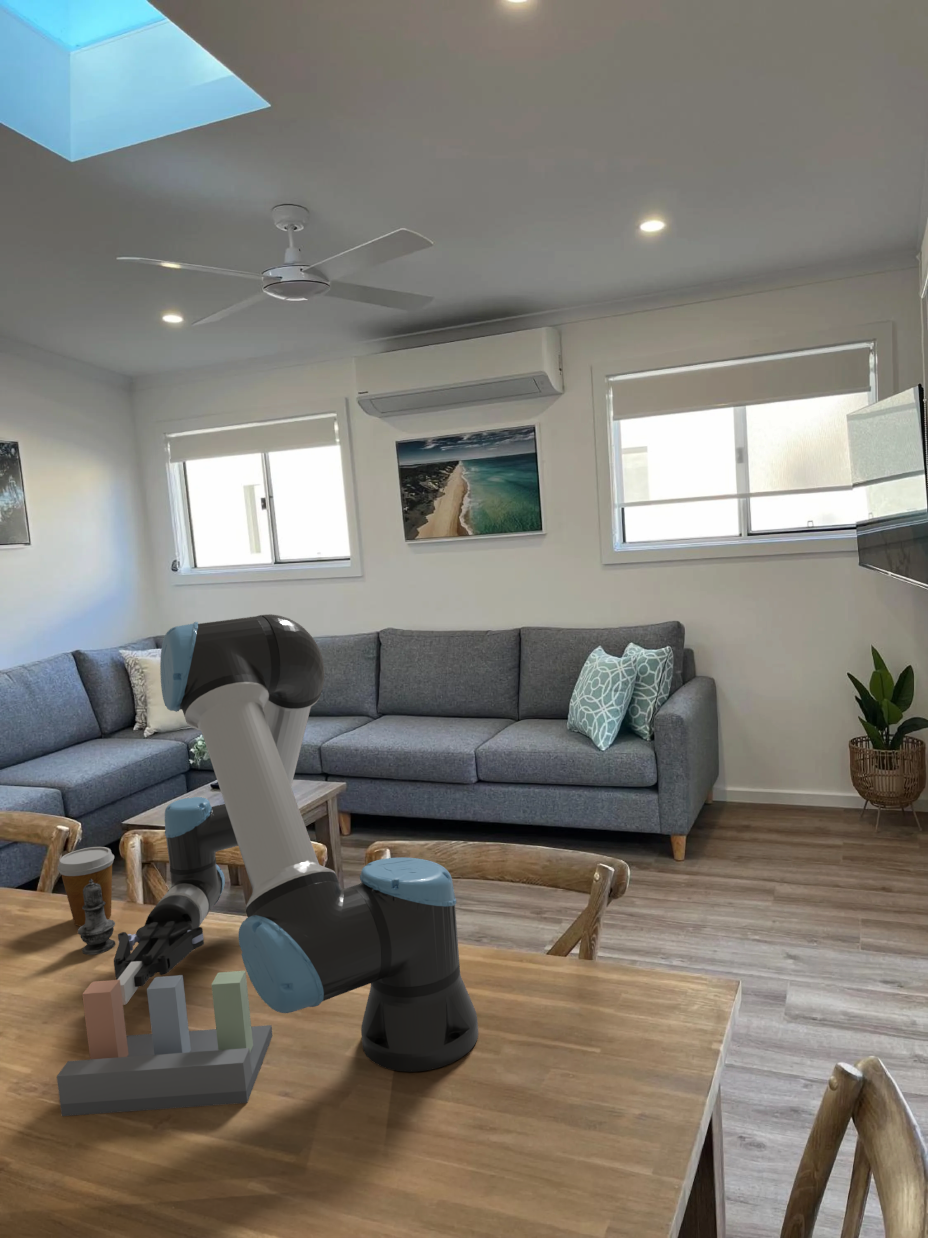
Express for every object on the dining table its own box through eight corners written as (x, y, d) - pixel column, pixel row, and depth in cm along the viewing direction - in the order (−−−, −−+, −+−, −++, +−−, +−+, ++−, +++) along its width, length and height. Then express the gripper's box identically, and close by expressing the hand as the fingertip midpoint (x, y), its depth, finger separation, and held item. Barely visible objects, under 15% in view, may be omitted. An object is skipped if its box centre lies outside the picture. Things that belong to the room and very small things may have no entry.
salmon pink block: (128, 1054, 113) (119, 979, 112) (119, 1068, 110) (110, 992, 109) (101, 1056, 113) (92, 981, 112) (91, 1070, 110) (82, 994, 109)
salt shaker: (104, 956, 146) (95, 886, 145) (72, 955, 147) (64, 885, 146) (124, 939, 151) (116, 872, 150) (93, 939, 153) (85, 871, 152)
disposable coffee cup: (67, 914, 164) (60, 851, 163) (122, 904, 167) (115, 842, 166) (61, 935, 155) (52, 869, 154) (118, 924, 158) (111, 859, 157)
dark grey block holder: (272, 1035, 118) (268, 1000, 118) (247, 1103, 104) (243, 1063, 104) (108, 1047, 118) (104, 1012, 118) (61, 1116, 104) (56, 1076, 104)
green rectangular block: (253, 1045, 113) (245, 970, 112) (247, 1059, 110) (239, 982, 109) (225, 1047, 113) (218, 972, 112) (219, 1061, 110) (211, 984, 109)
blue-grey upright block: (190, 1050, 113) (182, 975, 112) (183, 1064, 110) (175, 987, 109) (163, 1051, 113) (155, 977, 112) (155, 1065, 110) (146, 989, 109)
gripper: (220, 937, 140) (171, 1019, 116) (138, 943, 140) (73, 1026, 116) (215, 891, 139) (165, 964, 116) (133, 897, 139) (66, 971, 116)
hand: (119, 995), depth 116 cm, fingers closed
